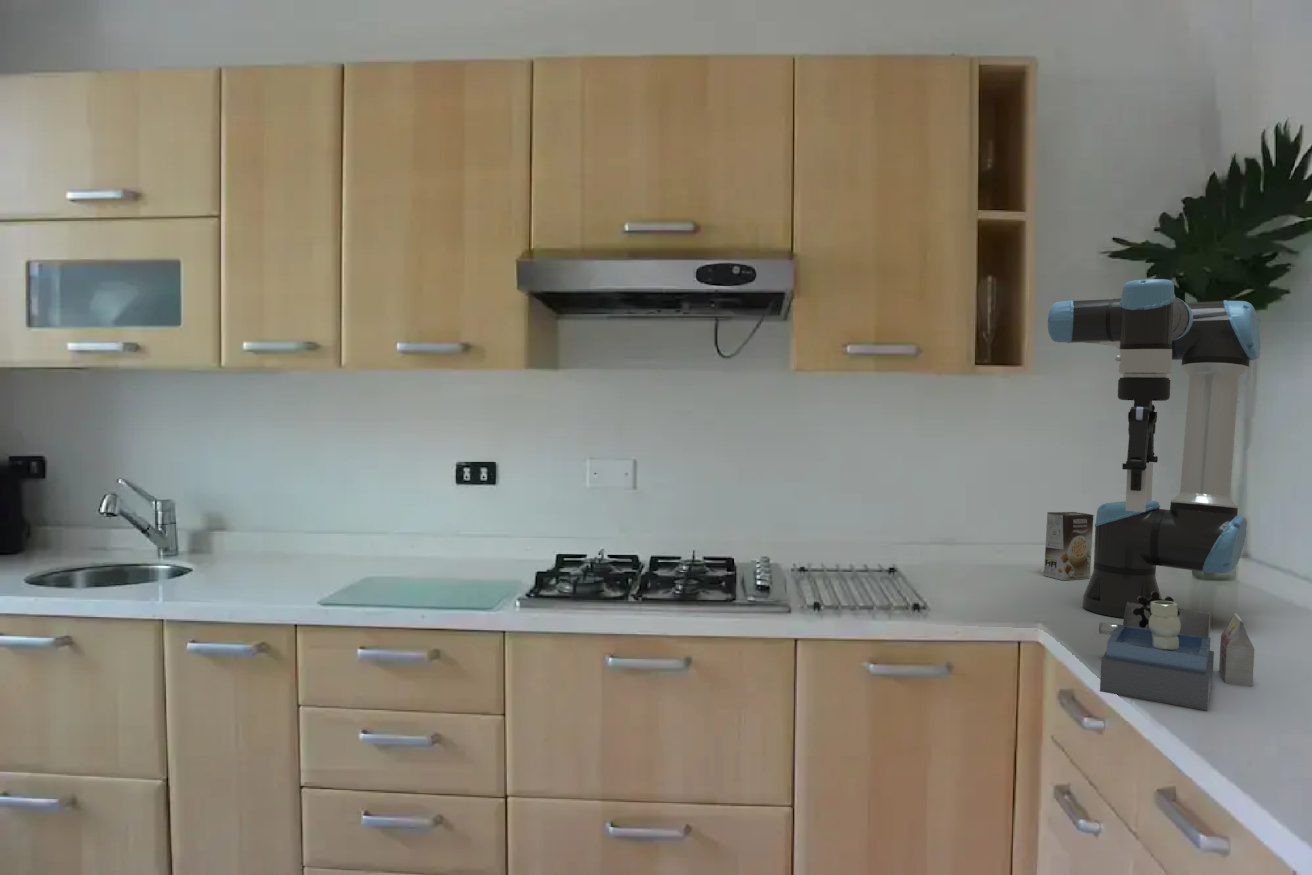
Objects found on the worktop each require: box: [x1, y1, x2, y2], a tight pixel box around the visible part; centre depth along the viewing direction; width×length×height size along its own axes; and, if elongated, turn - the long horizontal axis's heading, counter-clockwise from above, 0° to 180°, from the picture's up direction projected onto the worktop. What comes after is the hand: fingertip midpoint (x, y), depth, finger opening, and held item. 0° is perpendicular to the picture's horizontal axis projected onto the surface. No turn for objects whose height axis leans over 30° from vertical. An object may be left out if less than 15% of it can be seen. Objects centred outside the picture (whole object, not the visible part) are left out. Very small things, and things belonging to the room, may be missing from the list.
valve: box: [1132, 591, 1181, 649], centre depth 142 cm, size 7×7×12 cm
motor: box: [1098, 602, 1215, 711], centre depth 147 cm, size 26×17×10 cm, turn 147°
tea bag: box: [1218, 612, 1255, 687], centre depth 148 cm, size 4×7×10 cm, turn 155°
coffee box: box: [1043, 511, 1095, 581], centre depth 229 cm, size 9×6×16 cm
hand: (1138, 505), depth 151 cm, fingers open, 13 cm apart
